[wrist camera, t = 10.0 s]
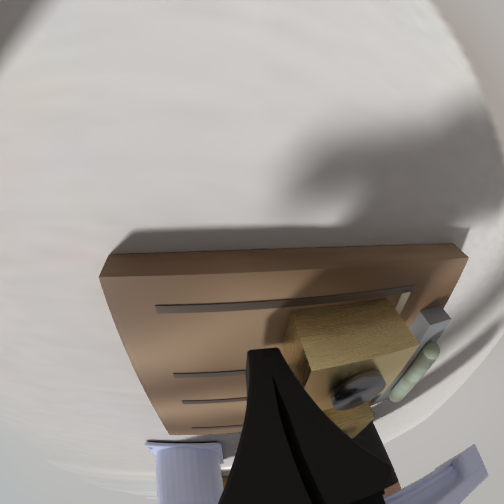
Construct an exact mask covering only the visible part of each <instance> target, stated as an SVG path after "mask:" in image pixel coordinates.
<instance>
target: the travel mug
mask: <svg viewBox="0 0 504 504" xmlns="http://www.w3.org/2000/svg"><path fill="white" fill-rule="evenodd" d="M352 439H353V440H354V441H355V442H357V443H358V444H359V445H361V446H362V447H363V448H365V449H366V450H368V451H369V452H371V453H372V454H374V455H375V456H377V457H378V458H380V459H382V460H383V461H385V462H387V463H389V464H390V465H391V466H392V464H391V461H390V459H389V457H388V455H387V452H386V450H385V448H384V446H383V443H382V441H381V439H380V437H379V435H378V432H377V430H376V428H375V426H374V424H373V422H372V421H371V422H370V423H369V424H368V425H367V426H366V427H365V428H364V429H363V430H362V431H361V432H360V433H359V434H357V435H356V436H355V437H354V438H352ZM392 468H393V466H392ZM393 470H394V468H393ZM399 490H401V487H400V484H399V481H398V482H397V483H396V484H394V485H392V486H390V487H388V488H386V489H384V491H385V494H384V495H383V498H384V497H386V496H388V495H391V494H393V493H395V492H397V491H399Z"/></svg>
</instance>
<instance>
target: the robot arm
mask: <svg viewBox="0 0 504 504" xmlns="http://www.w3.org/2000/svg"><path fill="white" fill-rule="evenodd" d="M245 375H246V388H247V406H246V413H245V418H244V423H243V428H242V433H241V437H240V441H239V445H238V448H237V452H236V455H235V459H234V462H233V465H232V468H231V471H230V474H229V477H228V480H227V482H226V485H225V487H224V488H223V482H222V475H221V467H220V464H223V463H224V462H223V455H222V448H221V443H152V442H146V443H145V446H146V447H147V449H148V450H149V451H150V452H151V453H152V454H153V455H154V456H155V457H156V484H157V501H158V504H460V503H461V502H462V501H463V500H464V499H465V498H466V497H467V496H468V495H469V494H470V493H471V492H472V491H473V490H474V489H475V488H476V487H477V486H478V485H479V484H481V483H482V481H484V480H485V479H486V478H487V477H488V473H487V470H486V468H485V466H484V463H483V461H482V459H481V457H480V454H479V452H478V450H477V448H476V446H475V444H473V445H472V446H470V447H469V448H467V449H466V450H465V451H463V452H462V453H460V454H458V455H457V456H455V457H453V458H451V459H449V460H448V461H447V462H445V463H443V464H442V465H440V466H439V467H437V468H436V469H435V470H434V471H433V472H431V473H429V474H428V475H426V476H424V477H423V478H421V479H419V480H418V481H416V482H414V483H412V484H410V485H408V486H407V487H405V488H403V489H401V490H399V491H397V492H395V493H393V494H391V495H388V496H386V497H384V498H383V495H384V494H385V491H384V489H386V488H388V487H390V486H392V485H394V484H396V483H397V482H398V478H397V476H396V473H395V472H394V470H393V468H392V466H391V465H390V464H389V463H387V462H385V461H383V460H382V459H380V458H378V457H377V456H375V455H374V454H372V453H371V452H369V451H368V450H366V449H365V448H363V447H362V446H361V445H359V444H358V443H357V442H355V441H354V440H353V439H352V438H351V437H349V436H348V435H347V434H346V433H344V432H343V431H342V430H341V429H340V428H339V427H338V426H337V425H336V424H335V423H334V422H333V421H332V420H331V419H330V418H329V417H328V416H327V415H326V414H325V413H324V412H323V411H322V410H321V409H320V408H319V406H318V405H317V404H316V403H315V402H314V400H313V399H312V398H311V397H310V395H309V394H308V393H307V392H306V390H305V389H304V388H303V386H302V385H301V383H300V382H299V381H298V379H297V378H296V376H295V375H294V373H293V372H292V370H291V369H290V367H289V365H288V364H287V362H286V360H285V359H284V357H283V355H282V353H281V351H280V349H279V348H277V347H274V348H264V349H254V350H249V351H247V360H246V373H245Z"/></svg>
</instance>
